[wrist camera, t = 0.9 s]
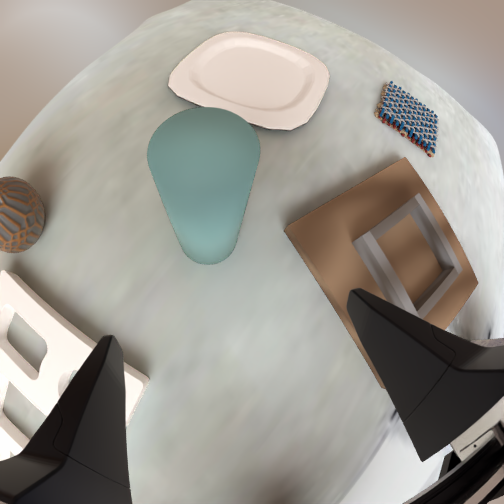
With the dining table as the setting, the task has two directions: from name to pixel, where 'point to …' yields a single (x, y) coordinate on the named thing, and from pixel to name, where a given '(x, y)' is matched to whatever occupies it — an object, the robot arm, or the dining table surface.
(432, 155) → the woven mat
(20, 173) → the dining table surface
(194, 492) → the dining table surface
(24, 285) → the holder
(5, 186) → the vase
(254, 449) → the dining table surface
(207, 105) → the plate
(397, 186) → the board
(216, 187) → the pin
